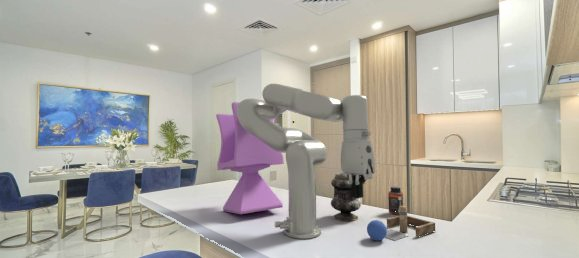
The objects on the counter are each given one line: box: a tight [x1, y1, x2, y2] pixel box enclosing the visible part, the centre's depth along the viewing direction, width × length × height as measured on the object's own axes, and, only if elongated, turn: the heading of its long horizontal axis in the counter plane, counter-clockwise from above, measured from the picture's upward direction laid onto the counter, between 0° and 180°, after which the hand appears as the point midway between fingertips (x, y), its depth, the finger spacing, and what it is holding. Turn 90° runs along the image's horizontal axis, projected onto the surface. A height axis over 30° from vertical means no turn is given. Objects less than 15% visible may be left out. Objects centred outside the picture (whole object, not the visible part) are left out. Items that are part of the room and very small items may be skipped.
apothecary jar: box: [330, 172, 362, 222], centre depth 106 cm, size 12×12×18 cm
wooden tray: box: [386, 215, 436, 238], centre depth 91 cm, size 10×12×3 cm
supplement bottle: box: [387, 186, 404, 216], centre depth 112 cm, size 6×6×11 cm
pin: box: [398, 205, 408, 233], centre depth 89 cm, size 2×2×8 cm
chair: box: [215, 101, 285, 215], centre depth 117 cm, size 22×22×45 cm
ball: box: [366, 219, 388, 241], centre depth 81 cm, size 6×6×6 cm
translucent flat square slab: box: [385, 228, 406, 241], centre depth 86 cm, size 8×7×1 cm
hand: (357, 197), depth 77 cm, fingers closed
